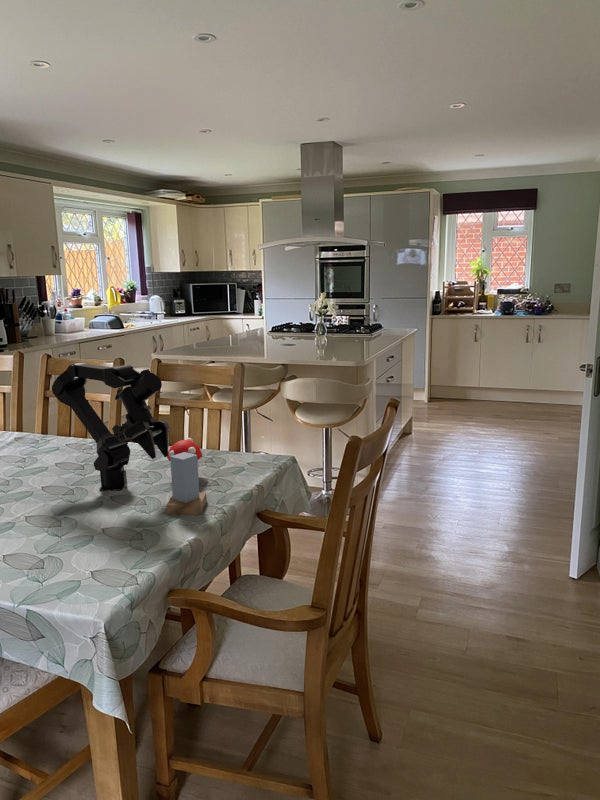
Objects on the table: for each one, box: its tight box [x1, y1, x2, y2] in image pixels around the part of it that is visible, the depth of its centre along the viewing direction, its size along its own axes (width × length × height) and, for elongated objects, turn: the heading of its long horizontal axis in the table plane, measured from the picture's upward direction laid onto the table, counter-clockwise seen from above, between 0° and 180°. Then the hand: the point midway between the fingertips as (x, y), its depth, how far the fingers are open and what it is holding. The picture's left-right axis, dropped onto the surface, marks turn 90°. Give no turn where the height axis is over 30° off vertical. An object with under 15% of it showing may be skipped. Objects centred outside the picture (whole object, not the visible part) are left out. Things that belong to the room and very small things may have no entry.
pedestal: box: [166, 491, 208, 515], centre depth 162 cm, size 9×9×3 cm
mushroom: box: [166, 437, 203, 468], centre depth 184 cm, size 11×11×12 cm
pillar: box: [170, 452, 200, 503], centre depth 160 cm, size 5×5×12 cm
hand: (160, 457), depth 164 cm, fingers open, 9 cm apart
